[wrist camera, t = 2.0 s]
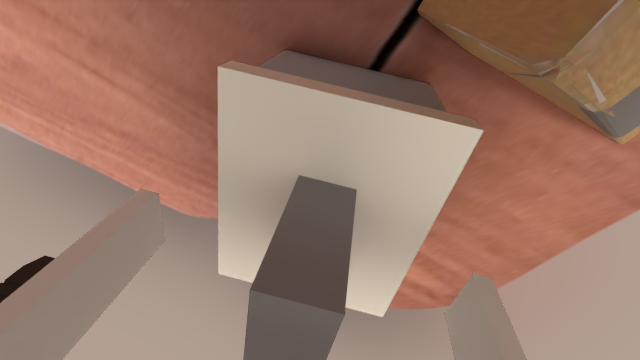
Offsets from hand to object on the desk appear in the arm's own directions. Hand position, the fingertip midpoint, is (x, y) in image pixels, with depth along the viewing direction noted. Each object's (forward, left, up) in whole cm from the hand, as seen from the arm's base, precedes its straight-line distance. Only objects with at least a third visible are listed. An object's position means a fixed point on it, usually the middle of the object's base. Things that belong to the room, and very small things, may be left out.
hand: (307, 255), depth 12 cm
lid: (0, 0, -3) cm, 3 cm away
